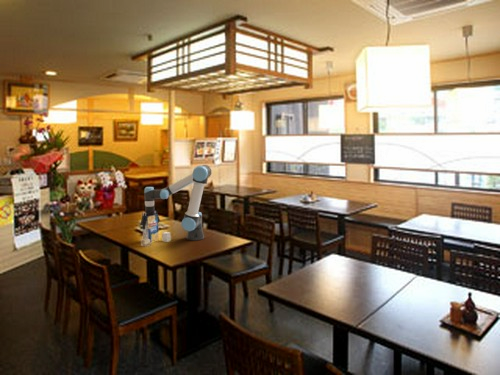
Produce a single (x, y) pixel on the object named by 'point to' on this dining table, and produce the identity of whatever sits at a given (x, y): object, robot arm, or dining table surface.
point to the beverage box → (151, 228)
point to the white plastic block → (166, 236)
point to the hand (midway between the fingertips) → (150, 231)
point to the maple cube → (145, 242)
